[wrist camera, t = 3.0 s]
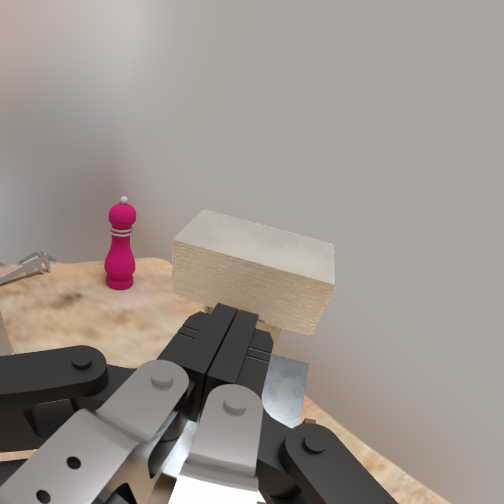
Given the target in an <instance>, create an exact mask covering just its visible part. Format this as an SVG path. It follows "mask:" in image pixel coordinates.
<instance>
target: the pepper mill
mask: <svg viewBox="0 0 504 504" xmlns="http://www.w3.org/2000/svg"><path fill="white" fill-rule="evenodd" d="M127 202H128V199H127V197H125V196H123V197H121V198H120V203H119V204H116V205H114V206H113V207H112V208H111V210H110V212H109V221H110V223H111V224H112V225H111V226H110V228H111V230H110V233H111V234H112V244H111V248H110V250H109V253H108V255H107V257H106V260H105V266H104V267H105V271H106V272H107V273H108V274H107V285H108V286H109V287H111V288H113V289H117V290H123V289H127V288H129V287H131V286H132V284H133V276H132V274H133V272H134V271H135V260H134V257H133V254H132V252H131V248H130V235H131V234H132V233H133V232H132V229H133V227H132V224H133V223H134V222H135V220H136V212H135V209H134V208H133V207H132V206H131V205H129V204H127Z"/></svg>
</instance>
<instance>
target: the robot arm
mask: <svg viewBox="0 0 504 504" xmlns="http://www.w3.org/2000/svg"><path fill="white" fill-rule="evenodd" d="M258 318H259V315H258V314H255V313H251V312H248V311H244V310H241V309H239V311H238V308H234V307H231V306H228V305H225V304H221V303H217V305H216V306H215V308H214V309H213V311H212V313H211V314H207V313H204V312H201V311H200V312H198V313H195V314H193V315H191V316H189V317H188V319H187V320H186V321H185V323H184V324H183V326H182V327H181V328H180V329H179V330H178V332H177V334H175V336H174V337H173V338H172V340H171V341H170V342H169V344H168V345H167V346H166V347H165V349H164V350H163V351H162V353H161V354H160V355H159V357H158V358H157V359H156V360H152V361H148V362H146V363H144V364H142V365H141V366H140V367H139V368H136V369H130V368H123V367H118V366H113V365H109V364H107V363H106V359H105V357H104V355H103V354H102V353H101V352H100V351H99V350H97V349H96V348H93V347H90V346H85V345H79V346H72V347H66V348H59V349H52V350H45V351H38V352H30V353H22V354H14V353H13V349H12V347H11V344H10V341H9V338H8V335H7V332H6V329H5V326H4V323H3V319H2V316H1V312H0V452H14V451H24V450H33V449H38V450H37V451H36V452H35V453H34V454H33V455H32V456H31V457H30V458H29V459H19V460H11V461H1V462H0V504H147V502H148V501H149V499H150V497H151V494H152V492H153V488H154V485H155V483H156V481H157V480H158V478H159V476H160V475H161V473H162V472H163V470H164V469H165V467H166V465H167V464H168V462H169V461H170V459H171V457H172V456H173V454H174V452H175V451H176V449H177V448H178V446H179V444H180V443H181V441H182V439H183V435H184V428H185V426H186V424H187V422H188V420H190V421H193V422H195V423H197V421H198V419H199V417H200V419H199V425H198V428H197V431H196V434H195V437H194V440H193V443H192V446H191V449H190V452H189V454H188V457H187V459H186V460H185V461H184V463H183V465H182V468H181V470H180V473H179V476H178V479H177V482H176V485H175V488H174V490H173V493H172V496H171V499H170V502H169V504H256V502H257V494H258V491H259V492H260V494H261V496H262V497H263V499H264V500H265V502H266V503H267V504H398V503H397V502H396V501H395V499H394V498H393V497H392V496H391V495H390V494H389V493H388V492H387V491H386V490H385V489H384V488H383V487H382V486H381V485H380V484H379V483H378V482H377V481H376V480H375V479H374V477H373V476H372V475H371V474H370V473H369V472H368V471H367V470H366V469H365V468H364V467H363V466H362V464H361V463H360V462H359V461H358V460H357V459H356V458H355V457H354V456H353V454H352V453H351V452H350V451H349V450H348V449H347V448H346V447H345V445H344V444H343V443H342V442H341V441H340V440H339V439H338V437H337V436H336V435H335V434H334V433H333V432H332V431H331V430H329V429H328V428H326V427H324V426H321V425H318V424H313V423H305V424H300V425H297V426H295V427H294V428H290V427H288V426H286V425H284V424H282V423H281V422H279V421H277V420H275V419H274V418H273V417H271V416H270V415H269V414H268V413H267V411H266V410H265V408H264V406H263V404H262V392H263V388H264V384H265V380H266V375H267V371H268V366H269V362H270V358H271V353H272V349H273V344H274V342H273V339H272V337H271V334H270V332H267V331H263V330H260V329H256V325H257V322H258ZM64 399H67V400H64ZM58 400H61V401H58ZM52 401H55V402H52ZM46 402H49V403H46ZM39 403H42V404H39Z"/></svg>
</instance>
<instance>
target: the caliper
mask: <svg viewBox="0 0 504 504" xmlns="http://www.w3.org/2000/svg"><path fill="white" fill-rule="evenodd" d="M38 253H39V257H38V256H36V257H34V258H31V259H29V260H27V261H25V262H23V263H22V264H23V265H21V266H19V267H17V268H15V269H13V270H11V271H9V272H7V273H5V274H3V275H1V276H0V284H2V283H4V282H6V281H7V280H9V279H11V278H13V277H15V276H17V275H19V274H21V273H23V272H26V274H28V273H29V272H32V271H33V270H34V269H35V268H38V269H39V271H40V272H41V273H42V275H43V274H44V271H43V268H42V266H41V264H42V263H45V265H46V268H47V271H48V272H50V262H49V258H48V256H47V253H46V252H45V253H44V250H42V254H41V253H40V252H39V251H38Z"/></svg>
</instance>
